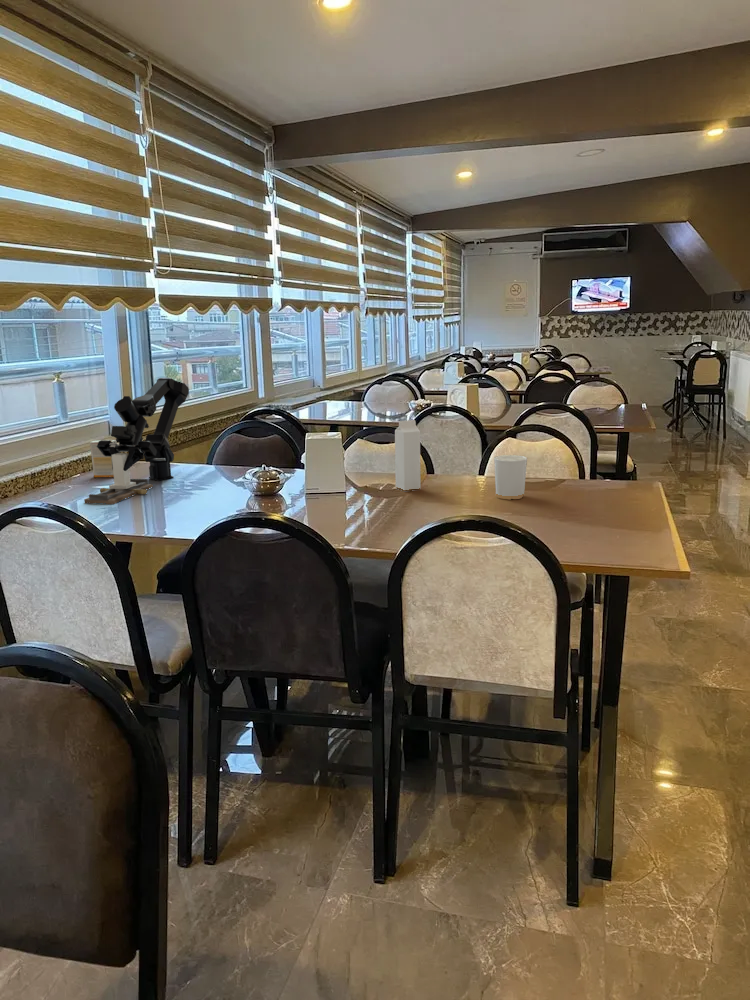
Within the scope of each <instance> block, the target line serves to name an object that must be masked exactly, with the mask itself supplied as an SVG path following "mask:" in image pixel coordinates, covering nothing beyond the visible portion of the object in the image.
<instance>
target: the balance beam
mask: <svg viewBox="0 0 750 1000" xmlns="http://www.w3.org/2000/svg"><path fill="white" fill-rule="evenodd" d="M148 479H149V478H130V482H136V485H135V486H133V487H130V488H128V489H124V490H121V491H119V492H118V491H115V489H109V487H108V488H105V487H104V488H103V487H101V488H100V489H99V492H98V493H97V494H94V493H91V494H88V497H87V498H84V504H93V503H103V504H102V505H115V503H116V504H118V503H120V502H122V501H121V500H123V499H125V498H127V499H129V498H128V497H130V496H132V495H134V494H137V495H145V494H146V493H147V494H148V490H146V489H149V488H151V487H153V488H154V484H153V483H149V481H148ZM151 489H152V488H151ZM149 490H150V489H149ZM147 494H146V495H147ZM132 497H133V496H132ZM130 498H131V497H130ZM125 500H126V499H125ZM119 501H120V502H119ZM123 501H124V500H123ZM117 502H118V503H117ZM104 503H106V504H104Z"/></svg>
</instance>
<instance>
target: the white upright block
mask: <svg viewBox="0 0 750 1000" xmlns="http://www.w3.org/2000/svg"><path fill="white" fill-rule="evenodd" d="M127 457H128V453H127V452H120V453H117V454H113V455H112V464H113V474H114V477H113V481H114V483H112V484H109V485H108V486H109V487H108V488H109V489H115V491H118V492H119V491H121V490H124V489H128V488H130V487H133V486H135V485H136V482H130V479H131V474H130V468H129V469H128V470H126V471H124V470H123V468H124V464H125V462H126V459H127Z"/></svg>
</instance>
